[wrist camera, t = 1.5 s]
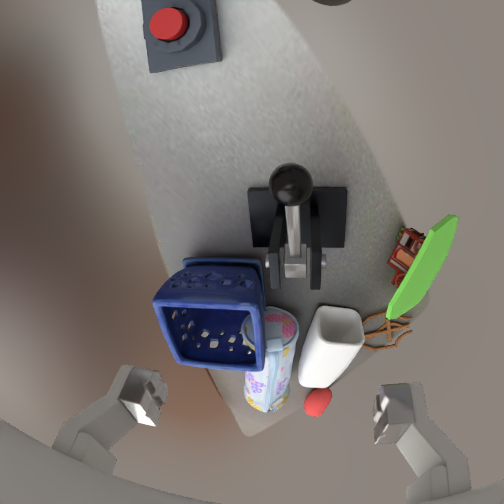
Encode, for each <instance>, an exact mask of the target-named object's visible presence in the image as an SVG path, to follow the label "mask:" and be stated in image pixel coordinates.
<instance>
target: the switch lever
mask: <svg viewBox="0 0 504 504" xmlns="http://www.w3.org/2000/svg"><path fill="white" fill-rule="evenodd" d="M269 190H270V193H271V195H272V197H273V198H274V199H275V200H276V201H277V202H278V203H280V204H282V205H284V206H285V212H286V222H287V233H288V244H285V248H284V271H285V278H306V277H307V244H301V227H300V205H301V204H302V203H304V202H305V201H306V200H307V199H308V198H309V197H310V195H311V193H312V190H313V180H312V177H311V175H310V173H309V172H308V170H307V169H306V168H304V167H303V166H301V165H299V164H296V163H285V164H282V165H280V166H278V167H277V168H276V169H275V170H274V171H273V172H272V174H271V176H270V179H269Z"/></svg>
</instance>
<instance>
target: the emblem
mask: <svg viewBox="0 0 504 504" xmlns="http://www.w3.org/2000/svg"><path fill="white" fill-rule="evenodd" d="M385 314H387V311H383V312H380V313H377V314H374V315H370V316H368V317H367V318H366V319H365V320H364V321H363V322H362V325H364V324H365V323H366V322H367V321H368V320H369V319H372V318H375V317H379V316H382V315H385ZM398 319H401V320H410V319H412V317H403V316H399V317H398ZM390 325H395V326H397V327H394V328H390ZM385 327H387V329H385V330H382V329H383V328H385ZM408 327H409V324H405V325H401V324H398V323H395V322H390V320H389V319H388V318H386V324H384V325H383V326H381V327H380V328H379V329H378V330H377V331H376V332H373V333H368V334H364V336H365V341H367V340H369V339H371V338H373V337H374V336H375V335H380V334H384V333H388V342H391V341H392V338H391V332H392V331H396V330H400V329H404V328H408ZM411 332H412V330H410V331H407V332H405V333H403V334H402V335H401V336H399V337H398V339H397V340H396V342H395V344H393V345H387V346H382V347H376V348H373V347H370V346H367V345H364V344H363V345H362V346H361V347H364V348H367V349H370V350H373V351H376V350H381V349H387V348H392V347H397V345H398V342H399V341H400V340H401V339H402V337H404V336H405V335H407V334H409V333H411Z"/></svg>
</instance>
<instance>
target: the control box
mask: <svg viewBox="0 0 504 504" xmlns="http://www.w3.org/2000/svg"><path fill="white" fill-rule="evenodd" d="M141 1H142V12H143V21H144V23H143V32H144V39H145V40H146V48H147V56H148V63H149V70H150V73H156V72H161V71H166V70H171V69H176V68H181V67H186V66H192V65H198V64H204V63H211V62H218V61H222V57H221V48H220V39H219V30H218V21H217V12H216V2H215V0H141ZM163 8H174V9H177V10H179V11H182V12H183V13H184V14H185V15H186V17H187V19H188V26H187V29H186V31H185V32H184V34H183V35H182V36H180V37H179V38H177V39H174V40H165V39H159V38H156V37H155V36H154V35H153V34H152V33H151V31H150V21H151V18H152V17H153V15H154V14H155V13H156V12H157V11H159V10H161V9H163Z"/></svg>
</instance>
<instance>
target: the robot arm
mask: <svg viewBox="0 0 504 504" xmlns="http://www.w3.org/2000/svg"><path fill="white" fill-rule="evenodd" d="M166 398H167V386H166V384H165V382H164V381H162V380H161V374H160V373H159V371H156V370H150V369H144V368H139V367H135V366H130V365H122V366H121V367H120V369H119V371H118V373H117V375H116V377H115V379H114V381H113V383H112V385H111V387H110V389H109V391H108V393H107V395H106V396H102V397H101V398H99V399H98V400H96V401H95V402H93V403H92V404H91V405H89V406H88V407H86V408H85V409H83V410H82V411H80V412H79V413H77V414H76V415H74V416H73V417H71V418H70V419H68V420H67V421H65V422H64V423H63V425H62V427H61V429H60V431H59V433H58V435H57V437H56V439H55V441H54V443H53V446H52V448H51V447H49V446H47V445H45V444H43V443H41V442H39V441H38V440H36V439H34V438H32V437H30V436H29V435H27V434H25V433H24V432H22V431H20V430H19V429H17V428H15V427H13V426H12V425H10V424H9V423H7V422H6V421H4V420H2V419H0V504H219V503H213V502H208V501H202V500H198V499H193V498H189V497H184V496H180V495H176V494H172V493H168V492H164V491H160V490H157V489H154V488H150V487H147V486H144V485H140V484H137V483H134V482H131V481H128V480H125V479H123V478H119V477H117V476H114V475H112V472H113V470H114V467H115V464H116V461H117V459H116V457H115V456H114V455H113V454H111V453H110V452H109V451H108V450H109V449H110V448H111V447H112V446H113V445H114V444H116V443H117V442H118V441H119V440H120V439H121V438H122V437H124V436H125V435H126V434H127V433H128V432H129V431H130V430H131V429H132V428H134V427H135V426H136V425H137V424H138V423H142V424H147V425H151V426H157V423H158V420H159V418H160V415H161V411H160V407H161V406H162V405H163V404H165V401H166ZM373 419H374V420H375V421H376V423H377V425H376V426H375V428H374V439H375V444H392V443H396V445H397V447H398V448H399V450H400V451H401V453H402V454H403V455H404V457H405V458H406V460H407V461H408V463H409V464H410V466H411V467H412V469H413V470H414V472H415V473H416V474H417V476H418V477H419V478H418V479H417V480H415V481H414V482H412V483H411V484H410V485H409V486H408V487H407V488H406V496H407V504H504V479H502V480H500V481H497V482H494V483H491V484H489V485H485V486H483V487H479V488H476V489H473V490H471V481H470V473H469V465H468V459H467V458H466V457H465V455H464V454H463V453H462V452H461V451H460V450H459V449H458V448H457V447H456V445H455V444H454V443H453V442H452V441H451V440H450V439H449V438H448V437H447V436H446V434H445V433H444V432H443V431H442V430H441V429H440V428H439V427H438V426H437V425H436V424H435V422H434V421H429V416H428V411H427V405H426V400H425V395H424V390H423V386H422V384H421V383H420V382H413V383H399V384H387V385H381V386H380V388H379V394H378V395H377V396H376V397H375V400H374V405H373ZM137 422H138V423H137Z"/></svg>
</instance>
